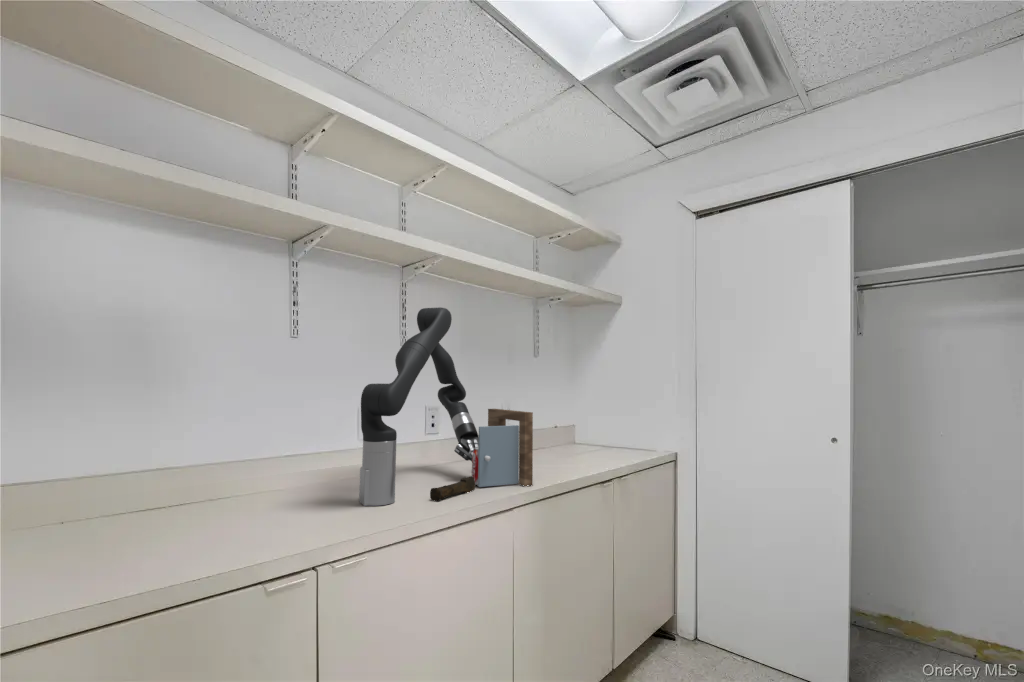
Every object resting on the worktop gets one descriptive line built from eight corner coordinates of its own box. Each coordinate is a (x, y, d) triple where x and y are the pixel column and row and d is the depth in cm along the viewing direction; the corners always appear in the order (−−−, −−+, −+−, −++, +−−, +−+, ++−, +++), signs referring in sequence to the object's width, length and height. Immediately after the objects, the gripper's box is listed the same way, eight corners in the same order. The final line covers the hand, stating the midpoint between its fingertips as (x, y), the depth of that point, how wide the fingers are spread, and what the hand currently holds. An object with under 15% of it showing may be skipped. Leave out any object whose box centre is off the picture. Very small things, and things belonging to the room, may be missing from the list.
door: (516, 482, 166) (517, 425, 167) (520, 484, 163) (521, 425, 165) (478, 486, 160) (478, 426, 161) (481, 487, 157) (482, 427, 159)
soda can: (486, 488, 160) (487, 450, 160) (467, 485, 163) (468, 448, 163) (496, 483, 166) (497, 447, 167) (478, 481, 169) (479, 445, 170)
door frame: (524, 486, 162) (525, 412, 164) (487, 473, 185) (488, 408, 187) (532, 485, 163) (532, 412, 165) (494, 472, 187) (495, 408, 189)
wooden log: (439, 503, 140) (439, 486, 140) (429, 501, 142) (429, 484, 143) (481, 491, 155) (481, 476, 156) (471, 490, 158) (471, 475, 158)
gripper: (450, 422, 173) (465, 464, 162) (484, 420, 180) (500, 460, 169) (444, 435, 178) (458, 477, 167) (477, 433, 185) (492, 473, 173)
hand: (479, 468), depth 168 cm, fingers closed
